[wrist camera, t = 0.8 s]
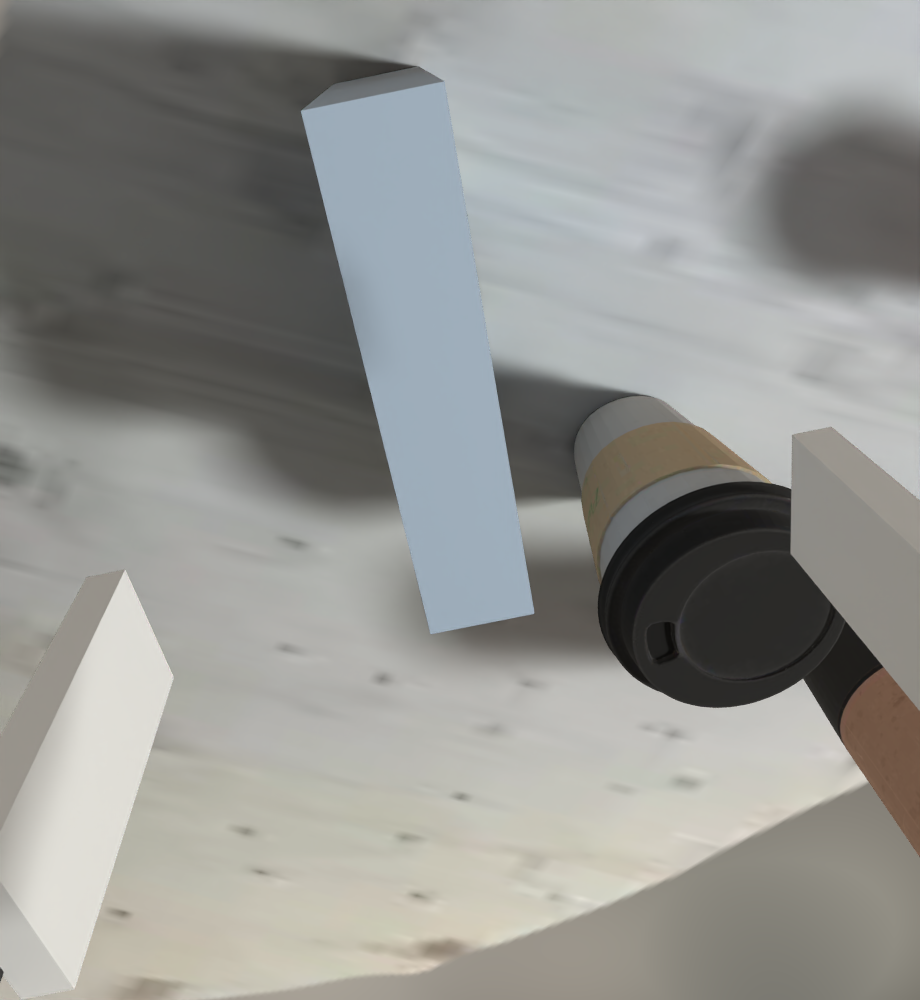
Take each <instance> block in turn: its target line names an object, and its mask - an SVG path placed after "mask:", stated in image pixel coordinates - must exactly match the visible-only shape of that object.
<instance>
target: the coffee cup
mask: <svg viewBox="0 0 920 1000" xmlns="http://www.w3.org/2000/svg"><path fill="white" fill-rule="evenodd" d="M574 459H575V465H576V470H577V475H578V479H579V483H580V488H581V492H582V499H581V502H582V508H583V515H584V519H585V524H586V528H587V532H588V537H589V541H590V545H591V550H592V554H593V558H594V563H595V567H596V571H597V576H598V580H599V583H600V590H599V596H598V617H599V623H600V627H601V631H602V634H603V636H604V639H605V641H606V643H607V645H608V647H609V648H610V650H611V651H612V652H613V654H614V655H615V656H616V657H617V659H618V660H619V662H620V663H621V664H622V666H623V667H624V668H625V669H626V670H627V671H628V672H629V673H630V674H631V675H632V676H633V677H635V678H636V679H637V680H639V681H640V682H641V683H643V684H645V685H646V686H648V687H650V688H652V689H654V690H657V691H659V692H662V693H664V694H666V695H667V696H669V697H671V698H673V699H675V700H678V701H680V702H683V703H687V704H690V705H695V706H701V707H713V708H722V707H734V706H740V705H746V704H750V703H754V702H757V701H760V700H763V699H766V698H768V697H771V696H773V695H775V694H778V693H780V692H782V691H784V690H785V689H787V688H789V687H791V686H792V685H794V684H796V683H797V682H798V681H800V680H801V679H803V678H804V677H805V676H807V675H808V674H809V673H810V672H811V671H812V670H814V669H815V668H816V667H817V666H818V665H819V664H820V663H821V662H822V661H823V659H824V658H825V657H826V656H827V655H828V653H829V652H830V651H831V649H832V648H833V646H834V645H835V643H836V641H837V640H838V638H839V636H840V634H841V632H842V629H843V627H844V624H845V619H844V618H843V617H842V616H841V614H840V613H839V612H838V611H837V610H836V608H835V607H834V606H833V605H832V603H831V602H830V601H829V600H828V599H827V597H826V596H825V595H824V594H823V592H822V591H821V590H820V589H819V588H818V586H817V585H816V584H815V583H814V582H813V580H812V579H811V578H810V577H809V575H808V574H807V573H806V572H805V571H804V569H803V568H802V567H801V566H800V564H799V563H798V562H797V561H796V560H795V558H794V557H793V556H792V555H791V489H789V488H786V487H783V486H779V485H776V484H772V483H771V482H770V481H769V480H768V479H766V478H765V477H764V476H763V475H761V474H760V473H759V472H758V471H756V470H755V469H754V468H753V467H751V466H750V465H749V464H748V463H746V462H745V461H744V460H743V459H742V458H740V457H739V456H738V455H737V454H735V453H734V452H733V451H732V450H730V449H729V448H728V447H727V446H725V445H724V444H723V443H722V442H720V441H719V440H718V439H717V438H715V437H714V436H713V435H711V434H710V433H708V432H707V431H706V430H704V429H703V428H700V427H698V426H695V425H694V424H692V423H691V422H690V421H689V420H687V419H686V418H685V417H684V416H682V415H681V414H680V413H679V412H677V411H676V410H675V409H674V408H672V407H671V406H670V405H668V404H667V403H665V402H664V401H662V400H659V399H657V398H654V397H647V396H630V397H626V398H621V399H618V400H615V401H613V402H610V403H608V404H606V405H604V406H602V407H601V408H599V409H597V410H596V411H595V412H594V413H592V414H591V415H590V416H589V417H588V418H587V419H586V420H585V422H584V423H583V424H582V426H581V428H580V430H579V432H578V434H577V437H576V441H575V445H574Z"/></svg>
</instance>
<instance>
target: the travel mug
mask: <svg viewBox="0 0 920 1000" xmlns="http://www.w3.org/2000/svg"><path fill="white" fill-rule="evenodd" d="M803 679H804V681H805V682H806V684H807V685H808V687H809V689H810V690H811V692H812V694H813V695H814V697H815V699H816V700H817V702H818V703H819V705H820V707H821V708H822V710H823V712H824V713H825V715H826V717H827V718H828V720H829V721H830V723H831V725H832V726H833V728H834V730H835V731H836V733H837V735H838V736H839V738H840V739H841V741H842V743H843V744H844V745H845V747H846V749H847V750H848V752H849V753H850V755H851V756H852V758H853V759H854V761H855V762H856V764H857V765H858V767H859V768H860V770H861V771H862V773H863V774H864V775H865V777H866V778H867V780H868V781H869V783H870V784H871V786H872V787H873V789H874V790H875V792H876V793H877V795H878V796H879V798H880V799H881V801H882V802H883V804H884V805H885V806H886V808H887V809H888V811H889V812H890V814H891V815H892V817H893V818H894V820H895V821H896V823H897V824H898V825H899V827H900V829H901V830H902V831H903V833H904V834H905V836H906V837H907V839H908V840H909V842H910V843H911V845H912V846H913V848H914V849H915V850H916V852H917V854H918V855H919V857H920V711H919V710H918V708H917V707H916V706H915V705H914V703H913V702H912V701H911V700H910V699H909V697H908V696H907V695H906V694H905V692H904V691H903V690H902V689H901V688H900V686H899V685H898V684H897V683H896V681H895V680H894V679H893V678H892V677H891V675H890V674H889V673H888V672H887V671H886V669H885V668H884V667H883V666H882V664H881V663H880V662H879V661H878V660H877V658H876V657H875V656H874V655H873V653H872V652H871V651H870V650H869V649H868V647H867V646H866V645H865V644H864V642H863V641H862V640H861V639H860V638H859V636H858V635H857V634H856V633H855V632H854V630H853V629H852V628H851V627H850V625H849V624H848V623H847V622H846V621H845V624H844V627H843V629H842V632H841V634H840V636H839V638H838V640H837V641H836V643H835V645H834V646H833V648H832V649H831V651H830V652H829V653H828V655H827V656H826V657H825V658H824V659H823V661H822V662H821V663H820V664H819V665H818V666H817V667H816V668H815V669H814V670H812V671H811V672H810V673H809V674H808V675H807V676H805V677H804V678H803Z"/></svg>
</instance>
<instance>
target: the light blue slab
mask: <svg viewBox="0 0 920 1000" xmlns="http://www.w3.org/2000/svg"><path fill="white" fill-rule="evenodd" d="M301 114H302V118H303V122H304V126H305V130H306V134H307V138H308V142H309V146H310V150H311V154H312V158H313V162H314V166H315V170H316V174H317V178H318V182H319V186H320V190H321V194H322V198H323V202H324V207H325V211H326V215H327V219H328V223H329V227H330V231H331V235H332V239H333V243H334V247H335V251H336V255H337V259H338V263H339V267H340V271H341V275H342V279H343V283H344V287H345V291H346V295H347V299H348V303H349V307H350V311H351V315H352V319H353V323H354V327H355V331H356V335H357V340H358V344H359V348H360V352H361V356H362V360H363V364H364V368H365V372H366V376H367V380H368V384H369V388H370V392H371V396H372V400H373V404H374V408H375V412H376V416H377V420H378V424H379V428H380V432H381V436H382V440H383V444H384V448H385V452H386V456H387V460H388V464H389V468H390V473H391V477H392V481H393V485H394V489H395V493H396V497H397V501H398V505H399V509H400V513H401V517H402V521H403V525H404V529H405V533H406V537H407V541H408V545H409V549H410V553H411V557H412V561H413V565H414V569H415V573H416V577H417V581H418V585H419V589H420V593H421V597H422V601H423V606H424V610H425V614H426V618H427V622H428V626H429V630H430V634H434V633H440V632H445V631H450V630H455V629H460V628H465V627H470V626H475V625H480V624H485V623H490V622H495V621H501V620H506V619H511V618H516V617H521V616H526V615H531V614H535V613H534V607H533V601H532V595H531V590H530V584H529V578H528V572H527V566H526V560H525V554H524V548H523V542H522V536H521V531H520V525H519V519H518V513H517V507H516V501H515V495H514V489H513V483H512V477H511V472H510V466H509V460H508V454H507V448H506V442H505V436H504V430H503V424H502V418H501V413H500V407H499V401H498V395H497V389H496V383H495V377H494V371H493V365H492V359H491V354H490V348H489V342H488V336H487V330H486V324H485V318H484V312H483V306H482V300H481V295H480V289H479V283H478V277H477V271H476V265H475V259H474V253H473V247H472V241H471V236H470V230H469V224H468V218H467V212H466V206H465V200H464V194H463V188H462V182H461V177H460V171H459V165H458V159H457V153H456V147H455V141H454V135H453V129H452V123H451V118H450V112H449V106H448V100H447V94H446V88H445V82H444V81H443V80H441V79H439V78H438V77H436V76H434V75H432V74H431V73H429V72H427V71H425V70H424V69H422V68H420V67H413V68H408V69H403V70H398V71H394V72H389V73H384V74H379V75H374V76H369V77H364V78H360V79H355V80H350V81H345V82H340V83H335V84H333V85H332V86H330V87H329V88H328V89H327V90H326V91H324V92H323V93H322V94H321V95H319V96H318V97H317V98H316V99H315V100H313V101H312V102H311V103H310V104H308V105H307V106H306V107H305V108H304V109H302V110H301Z"/></svg>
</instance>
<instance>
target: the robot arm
mask: <svg viewBox="0 0 920 1000" xmlns="http://www.w3.org/2000/svg"><path fill="white" fill-rule="evenodd" d="M791 555H792V556H793V557H794V558H795V560H796V561H797V562H798V563H799V564H800V566H801V567H802V568H803V569H804V571H805V572H806V573H807V574H808V575H809V577H810V578H811V579H812V580H813V582H814V583H815V584H816V585H817V586H818V588H819V589H820V590H821V591H822V592H823V594H824V595H825V596H826V597H827V599H828V600H829V601H830V602H831V603H832V605H833V606H834V607H835V608H836V610H837V611H838V612H839V613H840V614H841V616H842V617H843V618H844V619H845V621H846V622H847V623H848V624H849V625H850V627H851V628H852V629H853V630H854V632H855V633H856V634H857V635H858V636H859V638H860V639H861V640H862V641H863V642H864V644H865V645H866V646H867V647H868V649H869V650H870V651H871V652H872V653H873V655H874V656H875V657H876V658H877V660H878V661H879V662H880V663H881V664H882V666H883V667H884V668H885V669H886V671H887V672H888V673H889V674H890V675H891V677H892V678H893V679H894V680H895V681H896V683H897V684H898V685H899V686H900V688H901V689H902V690H903V691H904V692H905V694H906V695H907V696H908V697H909V699H910V700H911V701H912V702H913V703H914V705H915V706H916V707H917V708H918V710H919V711H920V500H919V499H917V498H916V497H915V496H914V495H913V494H911V493H910V492H909V491H908V490H907V489H905V488H904V487H903V486H902V485H901V484H899V483H898V482H897V481H896V480H895V479H893V478H892V477H891V476H890V475H889V474H887V473H886V472H885V471H884V470H883V469H881V468H880V467H879V466H878V465H877V464H875V463H874V462H873V461H872V460H871V459H869V458H868V457H867V456H866V455H865V454H863V453H862V452H861V451H860V450H859V449H857V448H856V447H855V446H854V445H853V444H851V443H850V442H849V441H848V440H847V439H845V438H844V437H843V436H842V435H841V434H839V433H838V432H837V431H836V430H835V429H833V428H832V427H828V428H823V429H818V430H813V431H808V432H803V433H799V434H794V435H792V486H791ZM173 678H174V677H173V675H172V672H171V670H170V668H169V666H168V664H167V661H166V659H165V657H164V655H163V652H162V650H161V648H160V646H159V644H158V641H157V639H156V637H155V635H154V632H153V630H152V628H151V626H150V624H149V621H148V619H147V617H146V615H145V612H144V610H143V608H142V606H141V604H140V601H139V599H138V597H137V595H136V592H135V590H134V588H133V586H132V584H131V581H130V579H129V577H128V575H127V572H126V570H121V571H116V572H111V573H106V574H101V575H96V576H91V577H86V579H85V581H84V583H83V585H82V587H81V588H80V590H79V592H78V594H77V596H76V598H75V599H74V601H73V603H72V605H71V607H70V609H69V611H68V612H67V614H66V616H65V618H64V620H63V622H62V623H61V625H60V627H59V629H58V631H57V633H56V634H55V636H54V638H53V640H52V642H51V644H50V646H49V647H48V649H47V651H46V653H45V655H44V657H43V658H42V660H41V662H40V664H39V666H38V668H37V669H36V671H35V673H34V675H33V677H32V679H31V681H30V682H29V684H28V686H27V688H26V690H25V692H24V693H23V695H22V697H21V699H20V701H19V703H18V704H17V706H16V708H15V710H14V712H13V714H12V716H11V717H10V719H9V721H8V723H7V725H6V727H5V728H4V730H3V732H2V734H1V736H0V981H1V978H2V976H4V978H5V979H6V980H7V982H8V983H9V984H10V986H11V987H12V988H13V990H14V991H15V992H16V994H17V995H18V996H19V998H20V999H21V1000H23V999H28V998H33V997H38V996H43V995H48V994H53V993H58V992H63V991H68V990H73V989H75V986H76V983H77V980H78V977H79V973H80V970H81V967H82V964H83V961H84V958H85V955H86V951H87V948H88V945H89V942H90V939H91V936H92V933H93V929H94V926H95V923H96V920H97V917H98V914H99V911H100V907H101V904H102V901H103V898H104V895H105V892H106V889H107V886H108V882H109V879H110V876H111V873H112V870H113V867H114V864H115V860H116V857H117V854H118V851H119V848H120V845H121V842H122V838H123V835H124V832H125V829H126V826H127V823H128V820H129V816H130V813H131V810H132V807H133V804H134V801H135V798H136V794H137V791H138V788H139V785H140V782H141V779H142V776H143V773H144V769H145V766H146V763H147V760H148V757H149V754H150V751H151V747H152V744H153V741H154V738H155V735H156V732H157V729H158V725H159V722H160V719H161V716H162V713H163V710H164V707H165V703H166V700H167V697H168V694H169V691H170V688H171V685H172V681H173Z"/></svg>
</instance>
